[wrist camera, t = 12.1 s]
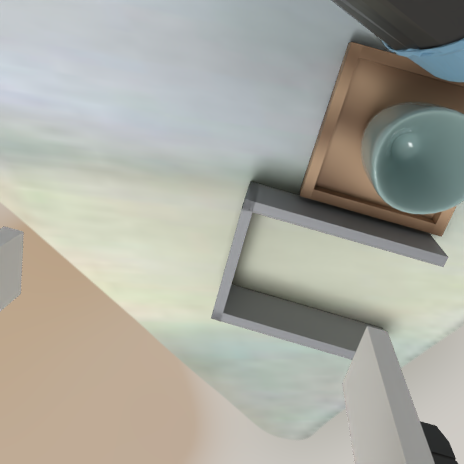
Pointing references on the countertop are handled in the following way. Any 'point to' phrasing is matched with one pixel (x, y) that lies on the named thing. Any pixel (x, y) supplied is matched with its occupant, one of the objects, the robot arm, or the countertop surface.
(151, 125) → the countertop surface
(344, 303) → the countertop surface
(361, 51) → the tray
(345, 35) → the countertop surface
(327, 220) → the bay
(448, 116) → the cup
